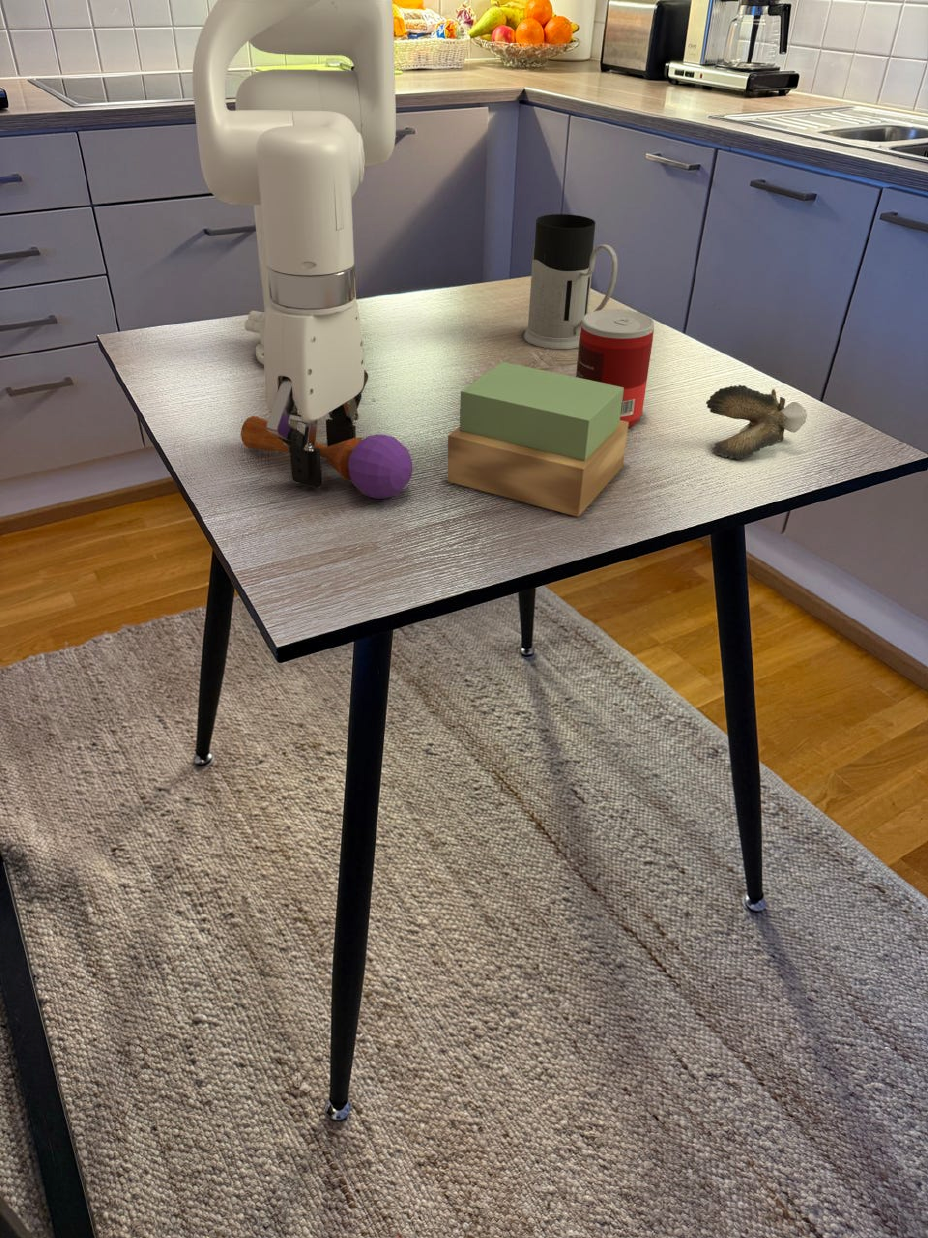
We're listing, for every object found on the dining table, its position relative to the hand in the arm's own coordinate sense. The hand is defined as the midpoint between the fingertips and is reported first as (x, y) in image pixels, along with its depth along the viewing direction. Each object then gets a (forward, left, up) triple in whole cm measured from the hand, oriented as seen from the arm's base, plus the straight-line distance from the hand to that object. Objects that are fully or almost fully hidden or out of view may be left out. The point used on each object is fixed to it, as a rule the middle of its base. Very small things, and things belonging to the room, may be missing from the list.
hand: (325, 469), depth 93 cm
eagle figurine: (+35, +29, -1) cm, 45 cm away
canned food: (+19, +28, -1) cm, 34 cm away
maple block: (+18, +11, -1) cm, 21 cm away
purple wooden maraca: (0, 0, -1) cm, 1 cm away
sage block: (+18, +11, +4) cm, 22 cm away
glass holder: (+6, +48, -1) cm, 48 cm away
